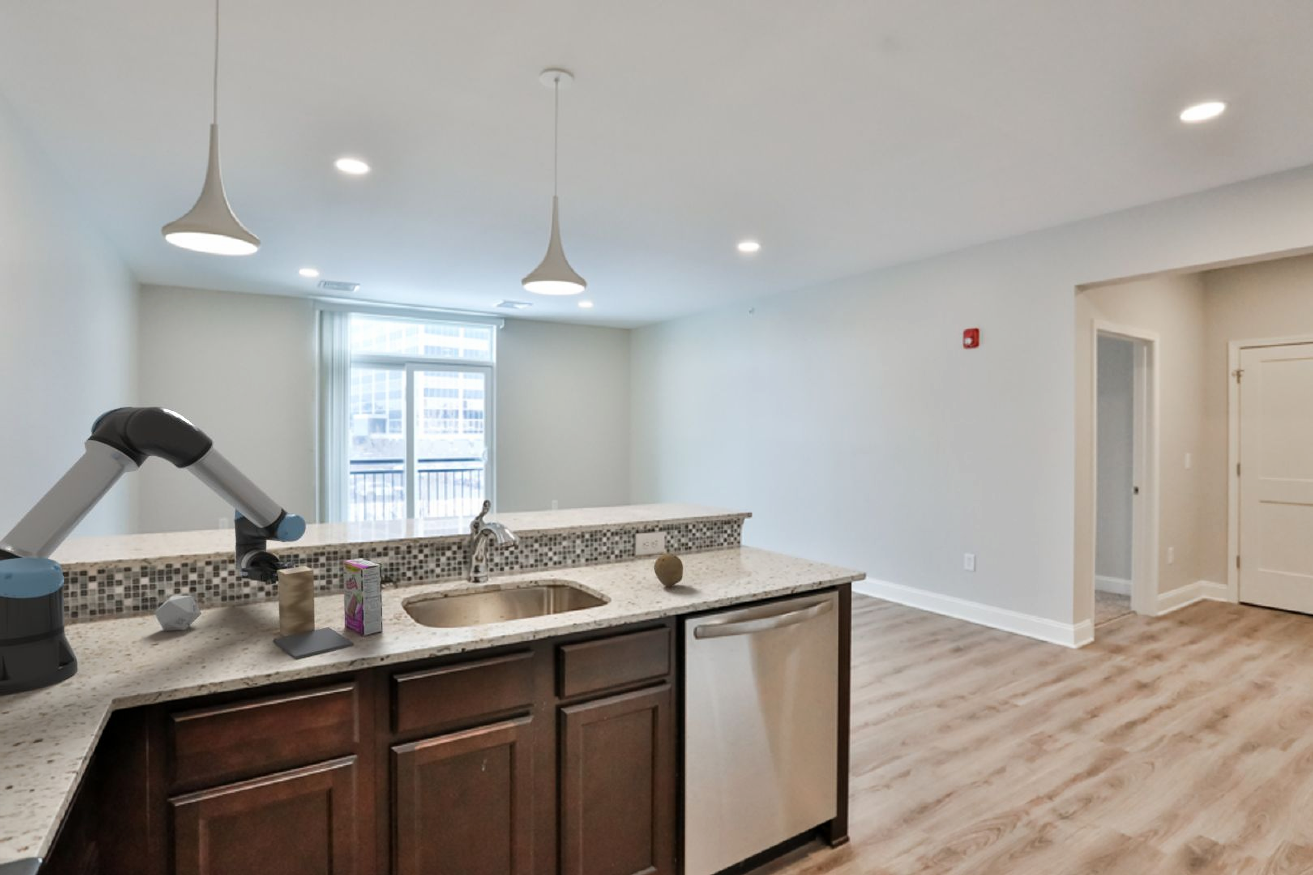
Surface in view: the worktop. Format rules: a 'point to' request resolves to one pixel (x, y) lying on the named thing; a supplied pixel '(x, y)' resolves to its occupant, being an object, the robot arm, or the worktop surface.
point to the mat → (312, 642)
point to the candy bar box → (362, 596)
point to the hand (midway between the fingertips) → (287, 579)
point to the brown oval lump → (668, 569)
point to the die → (177, 613)
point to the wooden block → (296, 600)
